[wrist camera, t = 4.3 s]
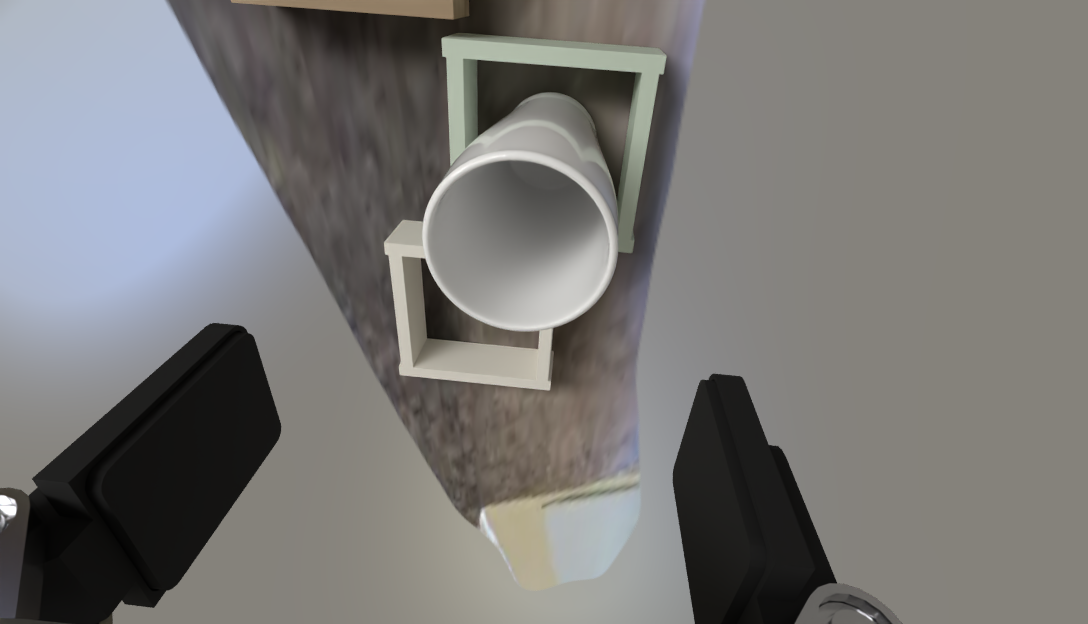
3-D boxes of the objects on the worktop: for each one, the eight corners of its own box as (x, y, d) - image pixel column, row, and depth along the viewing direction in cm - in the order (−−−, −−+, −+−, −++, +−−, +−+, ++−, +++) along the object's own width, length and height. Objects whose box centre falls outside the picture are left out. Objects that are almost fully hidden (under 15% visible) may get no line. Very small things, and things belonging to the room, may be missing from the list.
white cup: (614, 187, 31) (628, 327, 18) (506, 202, 32) (447, 342, 19) (603, 65, 27) (611, 133, 15) (481, 86, 28) (390, 165, 16)
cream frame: (402, 220, 33) (383, 242, 30) (564, 234, 33) (561, 259, 30) (414, 345, 38) (399, 374, 36) (553, 359, 38) (550, 390, 35)
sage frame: (458, 32, 27) (441, 37, 24) (658, 48, 26) (666, 55, 24) (463, 213, 32) (449, 236, 29) (628, 228, 32) (632, 253, 29)
